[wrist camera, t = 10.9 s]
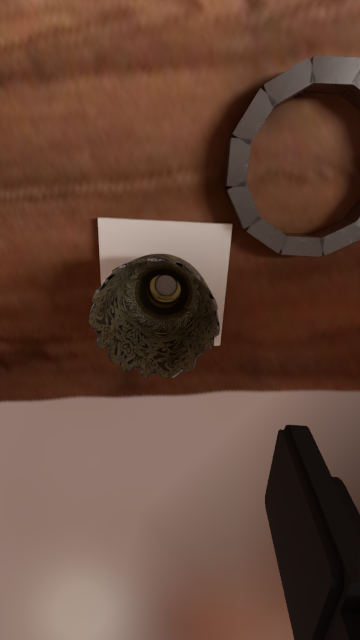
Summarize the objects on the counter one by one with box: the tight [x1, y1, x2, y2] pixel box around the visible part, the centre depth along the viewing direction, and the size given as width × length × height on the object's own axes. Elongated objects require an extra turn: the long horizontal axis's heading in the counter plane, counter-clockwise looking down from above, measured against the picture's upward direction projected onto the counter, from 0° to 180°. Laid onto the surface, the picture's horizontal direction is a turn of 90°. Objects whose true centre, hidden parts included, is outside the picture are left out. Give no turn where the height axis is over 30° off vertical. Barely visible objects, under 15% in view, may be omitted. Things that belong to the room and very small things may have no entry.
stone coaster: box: [98, 217, 232, 346], centre depth 26 cm, size 10×10×1 cm
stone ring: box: [224, 56, 360, 257], centre depth 22 cm, size 12×12×2 cm
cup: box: [89, 254, 220, 379], centre depth 22 cm, size 8×7×8 cm
